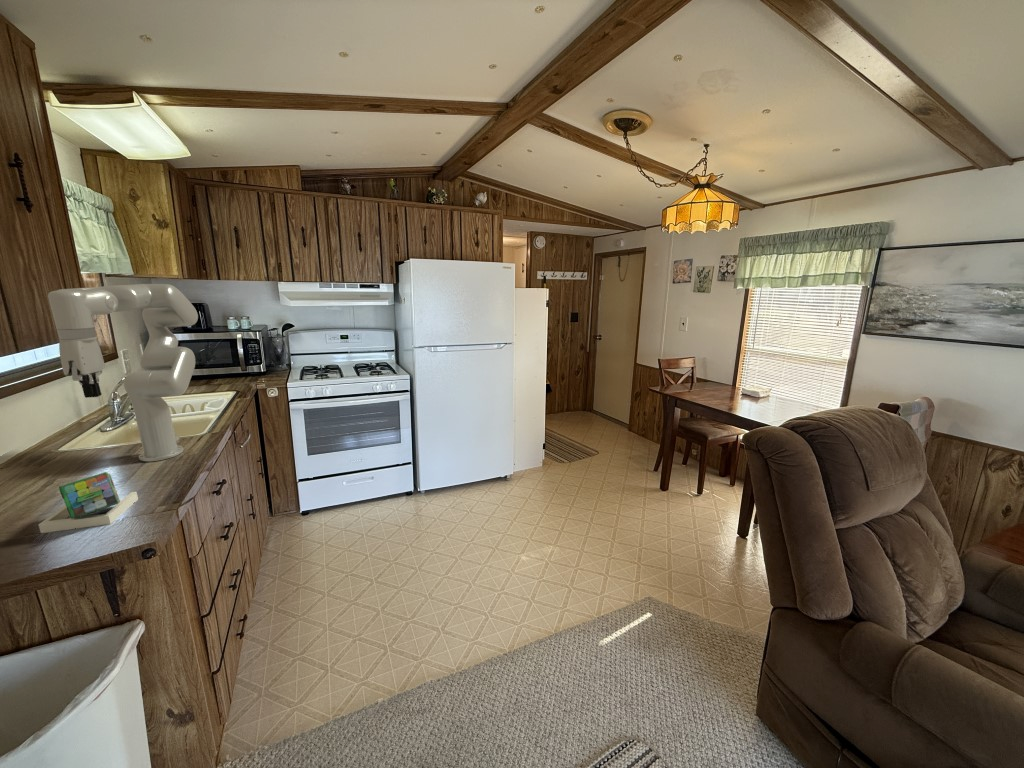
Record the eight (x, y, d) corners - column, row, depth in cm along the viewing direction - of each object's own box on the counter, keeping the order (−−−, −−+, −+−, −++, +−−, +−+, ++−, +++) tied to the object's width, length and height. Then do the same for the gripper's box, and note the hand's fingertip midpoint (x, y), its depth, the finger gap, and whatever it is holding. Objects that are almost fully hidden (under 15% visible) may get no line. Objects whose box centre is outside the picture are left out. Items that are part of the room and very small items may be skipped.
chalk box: (109, 473, 117) (106, 469, 107) (121, 502, 118) (119, 502, 107) (63, 487, 111) (55, 485, 100) (76, 518, 111) (69, 520, 101)
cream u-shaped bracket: (76, 506, 117) (74, 498, 116) (138, 499, 121) (136, 491, 120) (41, 533, 105) (38, 524, 104) (110, 523, 109) (108, 515, 108)
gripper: (79, 332, 123) (94, 391, 128) (40, 338, 109) (58, 404, 114) (110, 331, 125) (123, 389, 130) (75, 337, 112) (92, 402, 116)
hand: (93, 396), depth 122 cm, fingers closed
